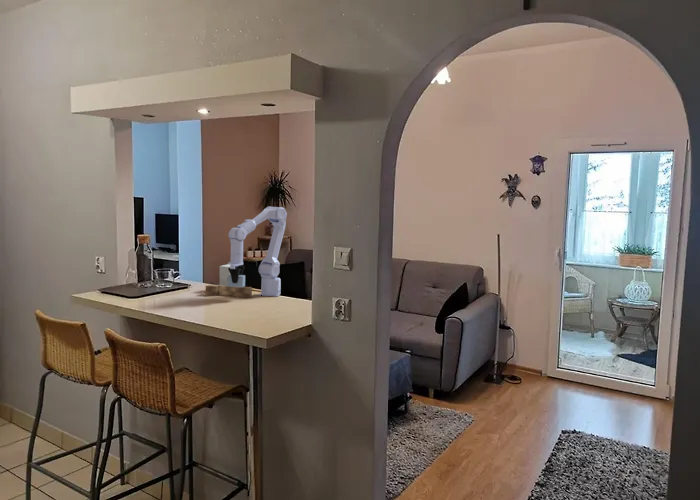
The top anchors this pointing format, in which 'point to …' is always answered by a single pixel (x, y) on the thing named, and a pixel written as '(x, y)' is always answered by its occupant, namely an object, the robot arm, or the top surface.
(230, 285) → the cabinet block
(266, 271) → the robot arm
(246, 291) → the beige wooden bar
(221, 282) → the small box
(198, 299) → the top surface
